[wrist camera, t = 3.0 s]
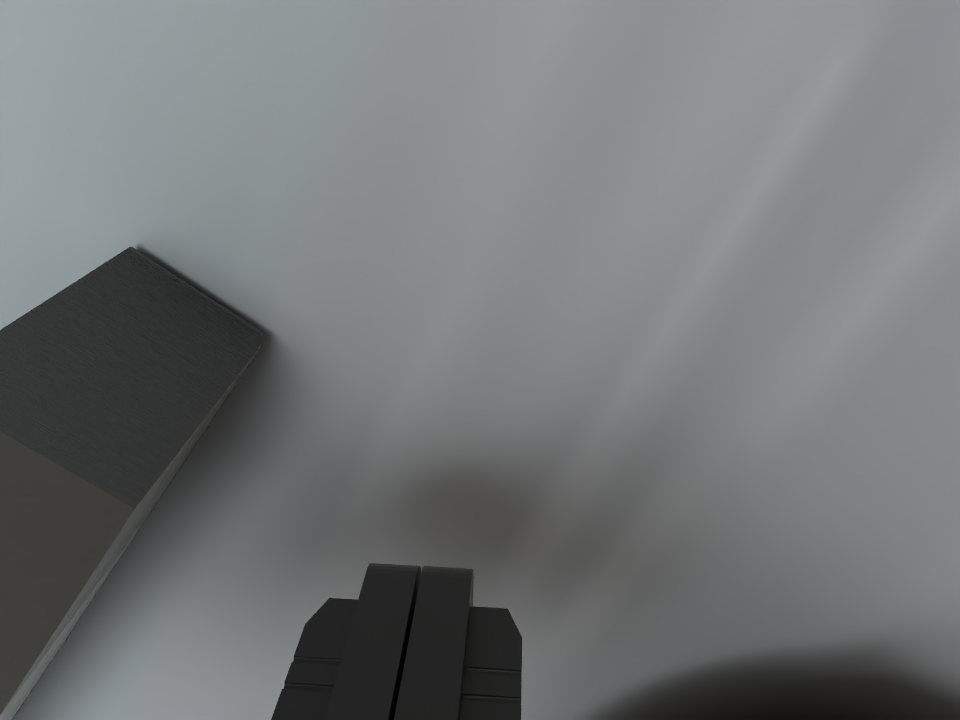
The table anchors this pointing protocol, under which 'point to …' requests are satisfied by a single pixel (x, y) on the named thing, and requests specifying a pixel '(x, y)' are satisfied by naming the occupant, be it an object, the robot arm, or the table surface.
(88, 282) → the bar
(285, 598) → the table surface
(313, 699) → the robot arm
